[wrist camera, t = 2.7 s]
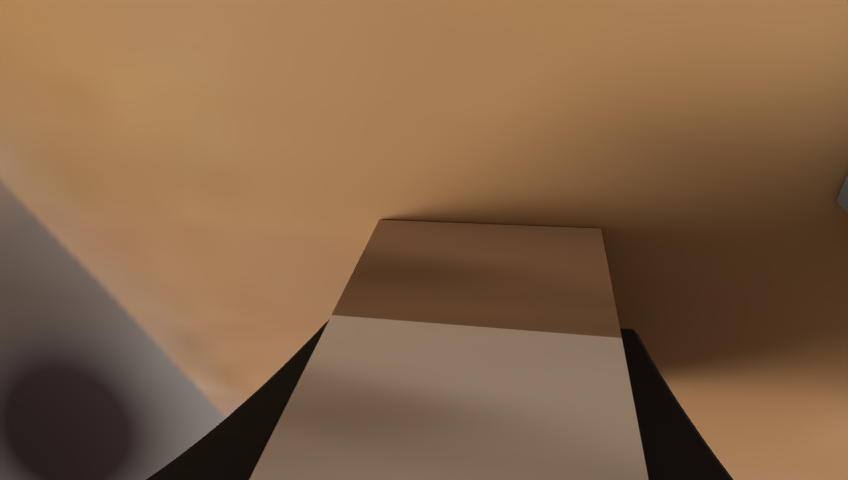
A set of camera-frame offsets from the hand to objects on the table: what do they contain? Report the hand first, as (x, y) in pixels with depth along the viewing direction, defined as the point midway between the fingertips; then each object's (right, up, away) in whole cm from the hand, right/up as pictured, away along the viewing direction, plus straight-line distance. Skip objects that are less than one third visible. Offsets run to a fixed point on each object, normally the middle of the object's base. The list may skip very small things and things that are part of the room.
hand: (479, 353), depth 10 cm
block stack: (0, +1, +1) cm, 1 cm away
